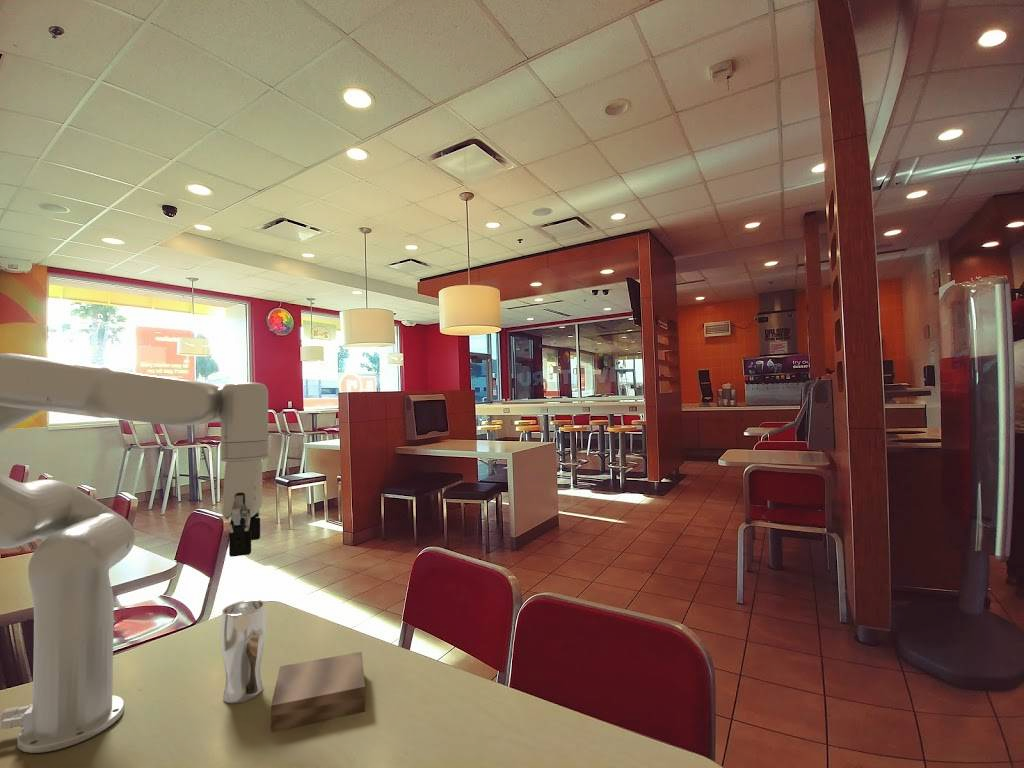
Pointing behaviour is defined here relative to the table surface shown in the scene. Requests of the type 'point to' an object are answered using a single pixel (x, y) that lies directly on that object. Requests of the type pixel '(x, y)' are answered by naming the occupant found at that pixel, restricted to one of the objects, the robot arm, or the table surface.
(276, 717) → the walnut shelf
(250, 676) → the beer glass
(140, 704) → the table surface
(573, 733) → the table surface
